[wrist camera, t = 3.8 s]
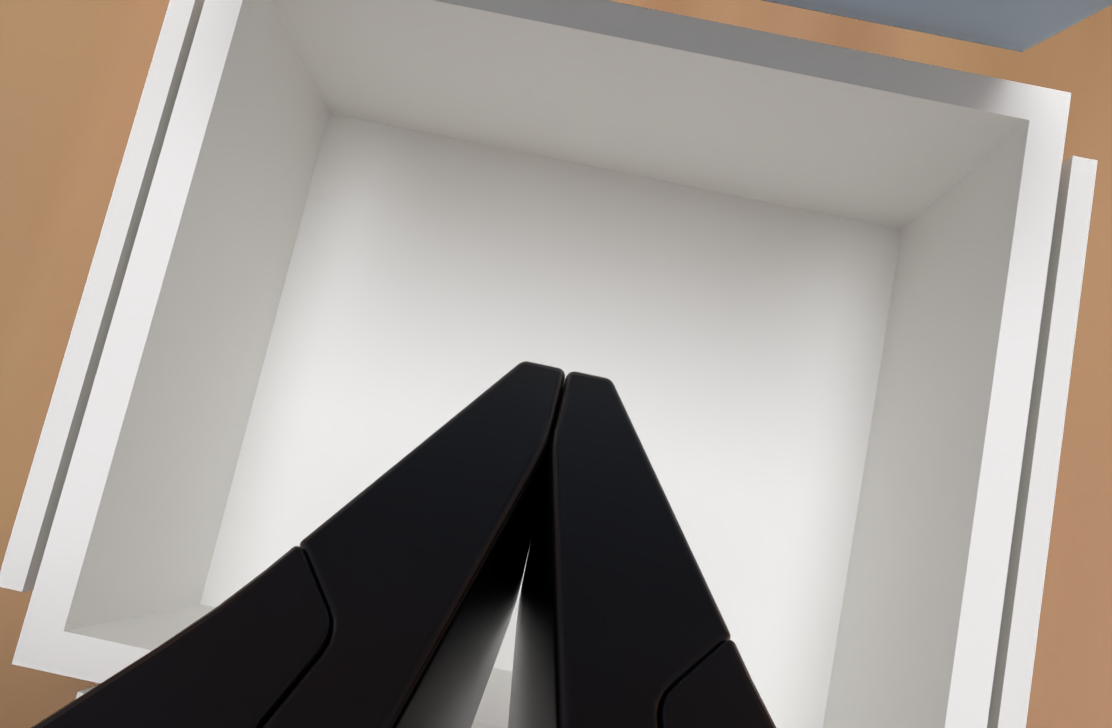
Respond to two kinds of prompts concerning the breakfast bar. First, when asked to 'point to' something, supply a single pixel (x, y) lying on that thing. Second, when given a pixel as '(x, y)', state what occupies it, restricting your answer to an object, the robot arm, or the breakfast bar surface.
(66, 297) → the breakfast bar surface
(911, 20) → the flap
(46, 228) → the breakfast bar surface
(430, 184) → the carton
